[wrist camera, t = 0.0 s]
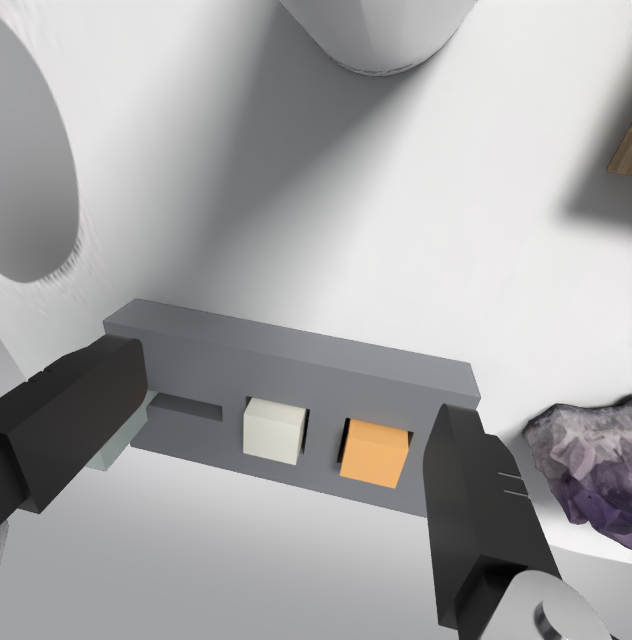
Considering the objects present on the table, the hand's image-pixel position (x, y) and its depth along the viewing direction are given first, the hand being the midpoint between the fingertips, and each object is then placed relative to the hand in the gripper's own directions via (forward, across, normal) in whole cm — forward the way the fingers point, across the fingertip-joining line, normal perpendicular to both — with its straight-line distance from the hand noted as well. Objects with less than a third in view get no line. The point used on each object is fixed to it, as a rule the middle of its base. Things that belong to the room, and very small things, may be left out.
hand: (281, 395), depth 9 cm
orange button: (+16, -5, +15) cm, 23 cm away
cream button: (+16, +3, +15) cm, 22 cm away
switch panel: (+18, +3, +15) cm, 23 cm away
